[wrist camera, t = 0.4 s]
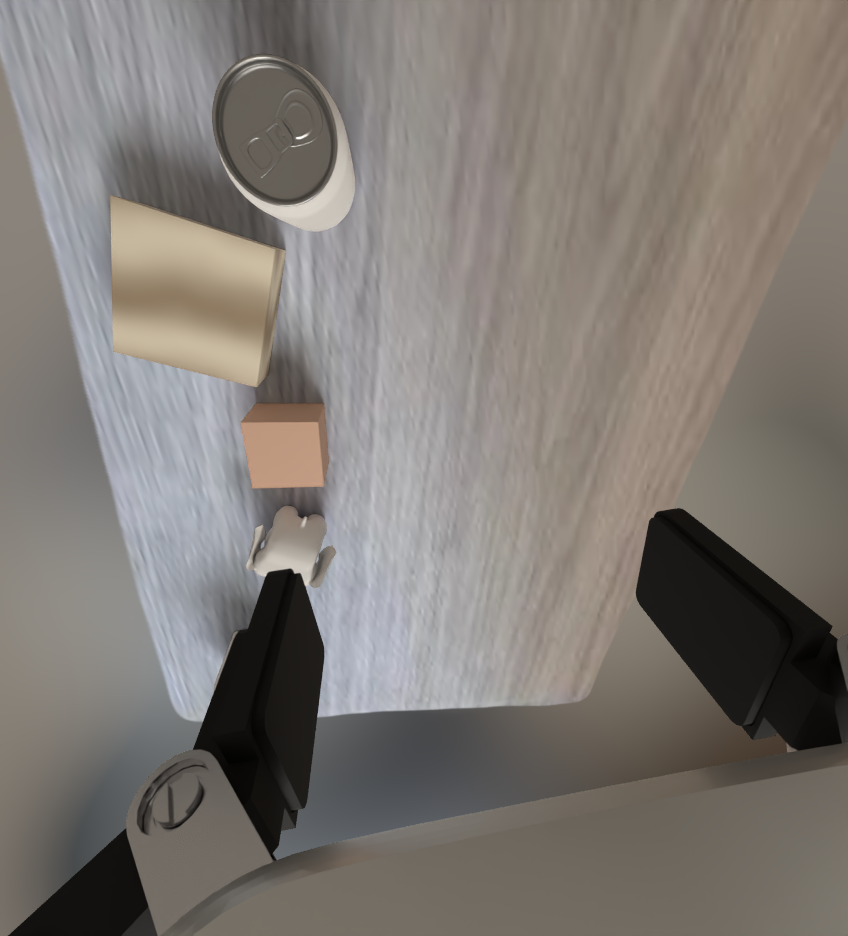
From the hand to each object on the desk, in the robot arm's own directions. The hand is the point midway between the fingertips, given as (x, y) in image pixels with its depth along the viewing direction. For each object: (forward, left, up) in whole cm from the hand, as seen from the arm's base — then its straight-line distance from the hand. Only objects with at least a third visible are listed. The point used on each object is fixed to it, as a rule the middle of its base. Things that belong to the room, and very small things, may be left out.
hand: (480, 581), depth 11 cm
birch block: (0, -16, -28) cm, 33 cm away
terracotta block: (+10, -8, -29) cm, 31 cm away
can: (-10, -10, -29) cm, 32 cm away
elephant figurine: (+21, -6, -29) cm, 36 cm away
